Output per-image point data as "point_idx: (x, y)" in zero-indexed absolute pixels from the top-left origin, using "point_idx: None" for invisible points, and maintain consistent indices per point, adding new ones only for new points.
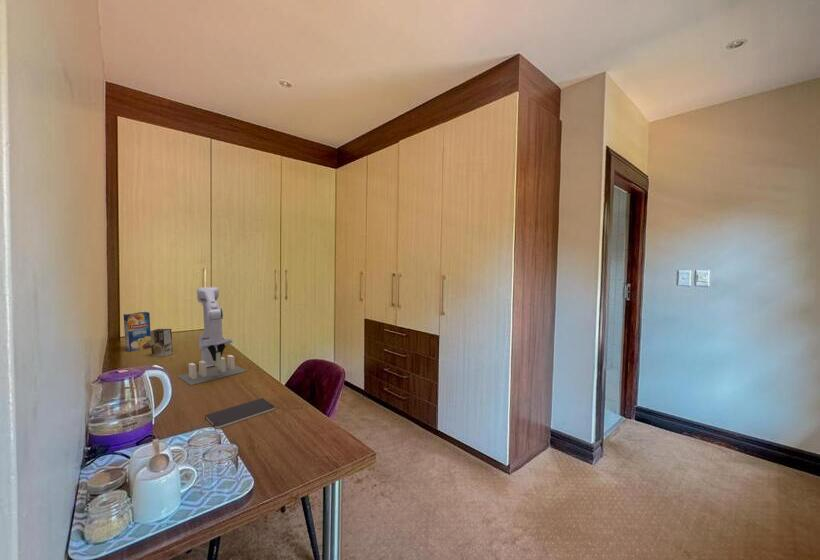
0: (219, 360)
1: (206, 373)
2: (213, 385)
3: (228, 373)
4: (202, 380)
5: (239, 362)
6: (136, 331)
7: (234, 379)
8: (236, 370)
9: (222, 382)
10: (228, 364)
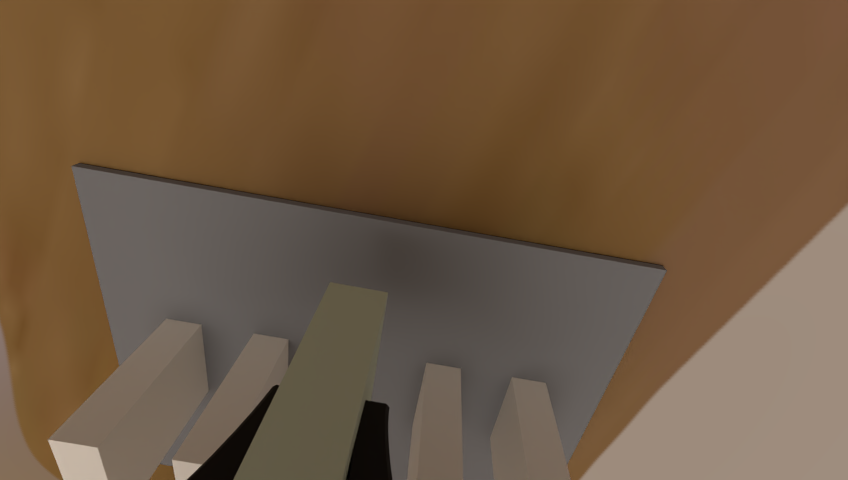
0: (321, 353)
1: (426, 382)
2: (560, 44)
3: (259, 259)
4: (523, 289)
5: None
6: None
7: (291, 15)
8: (164, 273)
9: (438, 49)
10: (181, 406)
